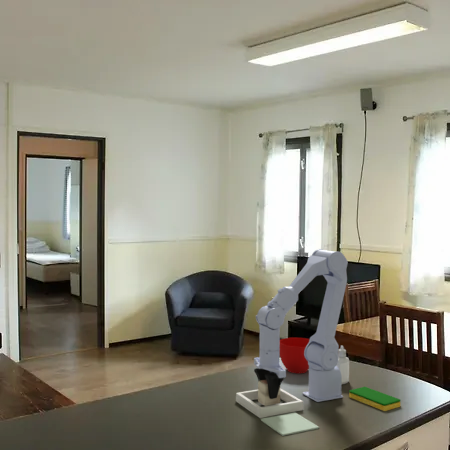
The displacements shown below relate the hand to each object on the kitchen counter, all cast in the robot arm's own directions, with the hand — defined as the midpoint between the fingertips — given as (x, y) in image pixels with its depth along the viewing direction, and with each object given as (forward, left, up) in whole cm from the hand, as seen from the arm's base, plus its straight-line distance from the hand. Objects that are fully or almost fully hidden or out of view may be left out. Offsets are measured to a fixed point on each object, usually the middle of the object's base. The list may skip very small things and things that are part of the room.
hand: (269, 395), depth 163 cm
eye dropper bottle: (-32, -8, -3) cm, 33 cm away
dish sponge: (-30, +10, -4) cm, 32 cm away
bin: (0, 0, -3) cm, 3 cm away
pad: (+2, +14, -3) cm, 14 cm away
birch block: (0, 0, -2) cm, 2 cm away
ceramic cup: (-27, -23, -3) cm, 36 cm away
